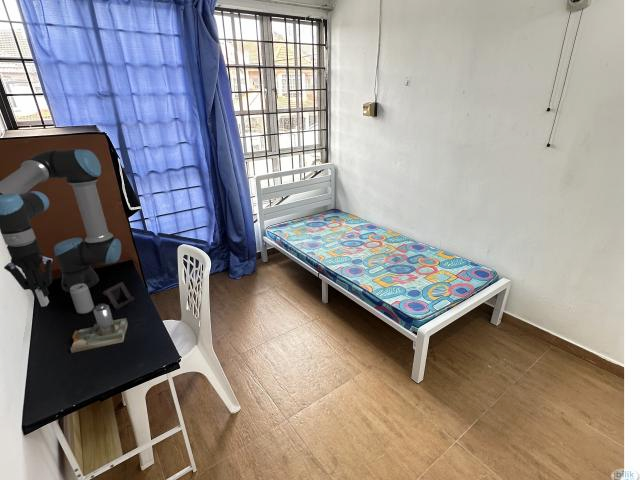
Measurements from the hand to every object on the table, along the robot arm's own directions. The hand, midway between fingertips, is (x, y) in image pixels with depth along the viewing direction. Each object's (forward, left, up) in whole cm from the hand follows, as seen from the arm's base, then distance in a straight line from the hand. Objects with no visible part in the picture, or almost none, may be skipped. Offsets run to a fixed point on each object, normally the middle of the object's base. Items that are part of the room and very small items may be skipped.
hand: (45, 304), depth 116 cm
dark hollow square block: (-24, +16, -19) cm, 34 cm away
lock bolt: (0, +7, -17) cm, 18 cm away
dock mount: (0, +13, -18) cm, 22 cm away
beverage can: (-23, +3, -18) cm, 30 cm away
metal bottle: (0, +16, -17) cm, 23 cm away
